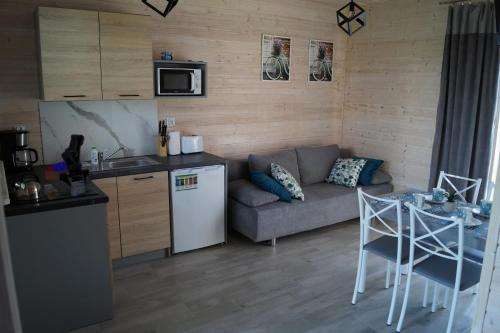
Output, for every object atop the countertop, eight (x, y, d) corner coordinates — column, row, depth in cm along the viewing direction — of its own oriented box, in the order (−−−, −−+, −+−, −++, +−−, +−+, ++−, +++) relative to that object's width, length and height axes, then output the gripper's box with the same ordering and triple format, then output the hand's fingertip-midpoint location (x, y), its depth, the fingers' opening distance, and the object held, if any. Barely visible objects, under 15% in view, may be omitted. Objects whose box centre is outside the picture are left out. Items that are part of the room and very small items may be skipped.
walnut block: (56, 196, 266) (55, 189, 265) (58, 198, 262) (58, 190, 261) (48, 198, 262) (47, 190, 261) (50, 199, 259) (49, 192, 258)
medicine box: (76, 196, 266) (74, 183, 265) (71, 195, 268) (69, 182, 267) (85, 193, 274) (84, 180, 272) (80, 192, 275) (79, 180, 274)
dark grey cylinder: (53, 194, 271) (52, 185, 270) (55, 196, 267) (54, 187, 266) (45, 195, 268) (44, 187, 266) (47, 197, 264) (46, 188, 263)
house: (74, 175, 330) (73, 160, 327) (58, 180, 311) (57, 165, 308) (61, 174, 332) (60, 160, 330) (44, 180, 313) (43, 165, 311)
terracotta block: (51, 192, 275) (50, 184, 274) (53, 194, 272) (52, 185, 271) (45, 193, 273) (44, 185, 271) (46, 195, 270) (46, 186, 268)
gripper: (58, 160, 263) (65, 180, 257) (87, 157, 275) (95, 176, 269) (55, 170, 271) (62, 190, 265) (84, 167, 283) (91, 185, 277)
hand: (78, 185), depth 269 cm, fingers closed on medicine box, 9 cm apart
